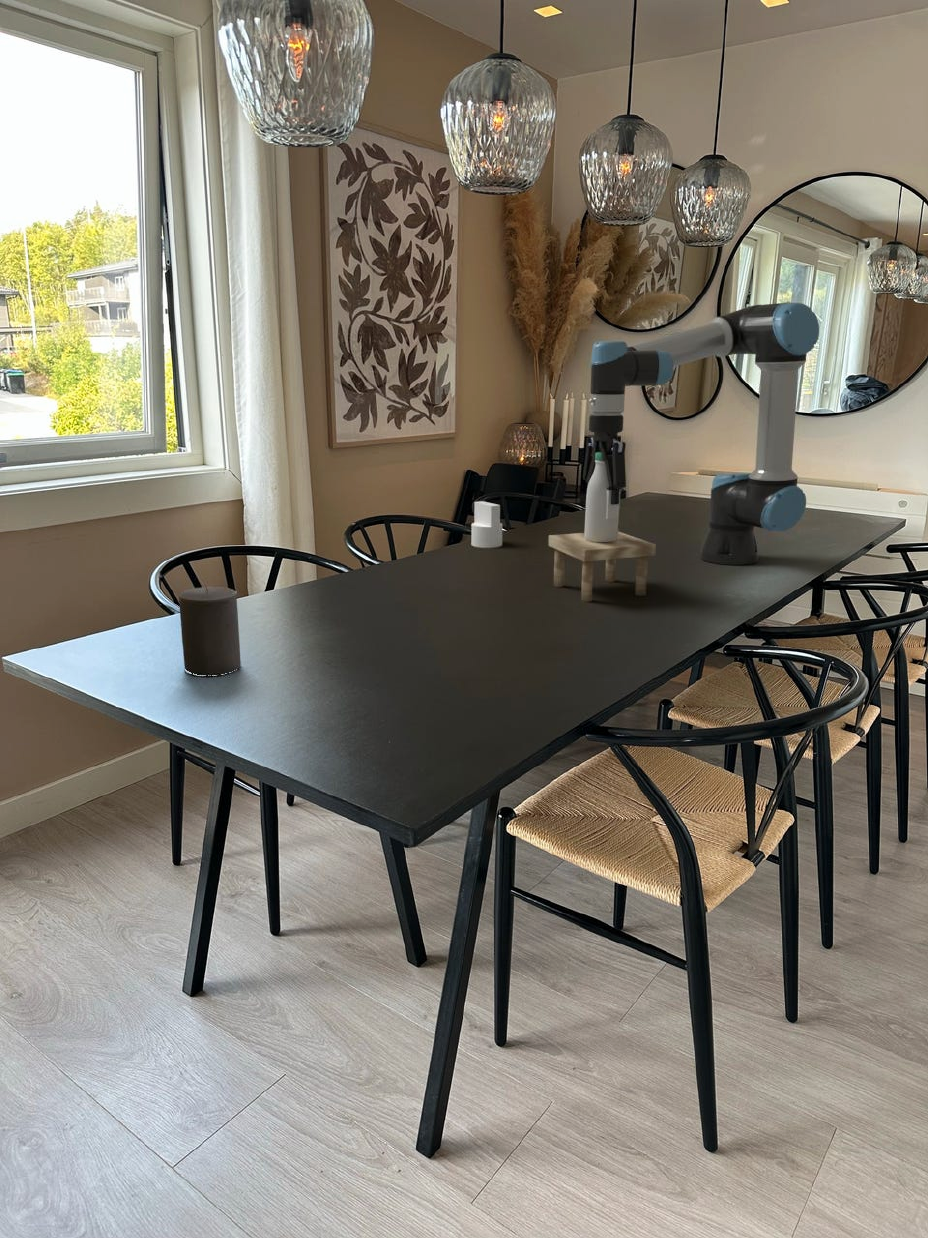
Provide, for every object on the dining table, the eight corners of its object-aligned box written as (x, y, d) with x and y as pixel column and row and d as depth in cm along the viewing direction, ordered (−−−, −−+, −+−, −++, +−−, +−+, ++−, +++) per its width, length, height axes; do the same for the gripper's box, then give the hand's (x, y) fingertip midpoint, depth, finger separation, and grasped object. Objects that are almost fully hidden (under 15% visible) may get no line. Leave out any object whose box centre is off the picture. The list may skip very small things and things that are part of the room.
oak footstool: (613, 578, 220) (615, 530, 216) (652, 595, 204) (655, 544, 200) (547, 584, 214) (548, 535, 210) (582, 603, 198) (584, 550, 194)
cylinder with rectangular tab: (508, 545, 258) (509, 504, 254) (483, 549, 253) (483, 507, 250) (490, 540, 265) (490, 500, 262) (465, 543, 260) (465, 502, 257)
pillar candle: (188, 680, 151) (181, 595, 146) (181, 662, 159) (174, 581, 155) (246, 673, 154) (241, 590, 150) (236, 656, 163) (231, 577, 159)
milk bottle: (617, 544, 201) (622, 454, 195) (582, 542, 202) (587, 453, 197) (618, 537, 208) (623, 450, 202) (585, 535, 210) (589, 450, 204)
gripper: (569, 411, 205) (566, 509, 212) (615, 417, 186) (610, 524, 193) (598, 410, 208) (594, 507, 214) (646, 416, 189) (640, 521, 195)
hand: (602, 515), depth 204 cm, fingers open, 8 cm apart
